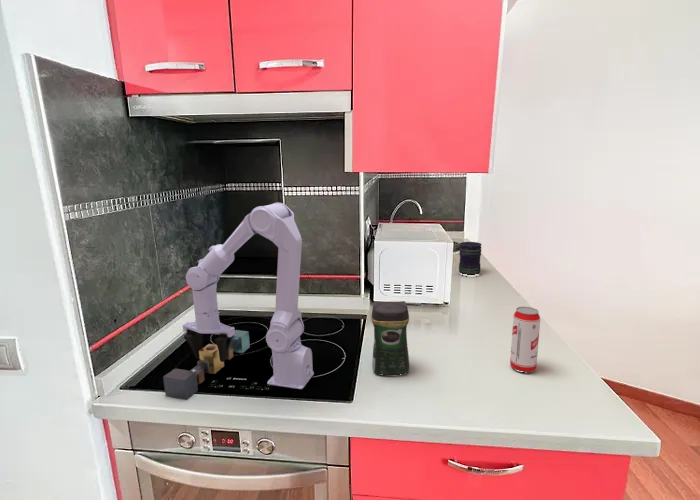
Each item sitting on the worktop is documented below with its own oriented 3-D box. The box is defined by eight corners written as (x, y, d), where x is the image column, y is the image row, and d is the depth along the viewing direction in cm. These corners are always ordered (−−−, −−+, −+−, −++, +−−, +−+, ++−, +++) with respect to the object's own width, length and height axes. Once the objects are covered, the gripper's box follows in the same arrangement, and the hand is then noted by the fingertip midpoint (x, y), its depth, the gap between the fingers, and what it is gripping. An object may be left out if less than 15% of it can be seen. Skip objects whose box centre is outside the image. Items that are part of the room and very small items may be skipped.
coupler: (224, 366, 108) (222, 345, 107) (214, 373, 104) (212, 352, 103) (210, 364, 109) (208, 343, 108) (201, 371, 105) (198, 350, 104)
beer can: (537, 366, 104) (542, 308, 101) (534, 377, 99) (539, 316, 96) (511, 360, 108) (515, 304, 104) (507, 371, 102) (511, 312, 99)
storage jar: (466, 270, 196) (467, 240, 193) (484, 274, 189) (485, 243, 186) (454, 274, 190) (455, 243, 187) (472, 278, 183) (473, 246, 180)
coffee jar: (407, 362, 108) (408, 297, 104) (410, 377, 100) (411, 307, 96) (371, 362, 109) (371, 297, 105) (371, 377, 101) (371, 307, 97)
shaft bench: (249, 347, 119) (248, 331, 118) (186, 399, 93) (184, 380, 92) (232, 344, 121) (230, 329, 120) (165, 395, 95) (163, 376, 93)
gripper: (239, 307, 105) (243, 354, 108) (192, 302, 109) (198, 348, 112) (223, 316, 98) (228, 367, 101) (174, 311, 102) (180, 360, 105)
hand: (211, 358), depth 106 cm, fingers open, 7 cm apart
